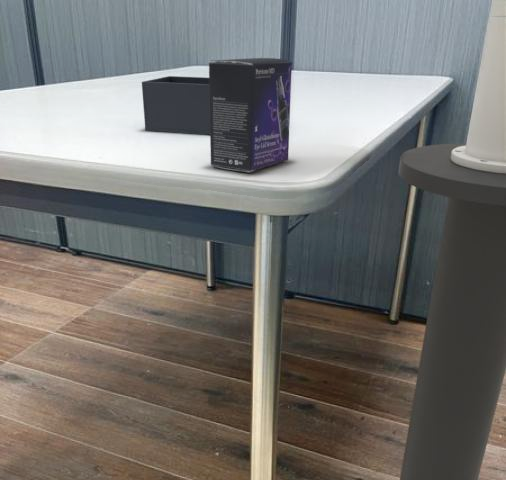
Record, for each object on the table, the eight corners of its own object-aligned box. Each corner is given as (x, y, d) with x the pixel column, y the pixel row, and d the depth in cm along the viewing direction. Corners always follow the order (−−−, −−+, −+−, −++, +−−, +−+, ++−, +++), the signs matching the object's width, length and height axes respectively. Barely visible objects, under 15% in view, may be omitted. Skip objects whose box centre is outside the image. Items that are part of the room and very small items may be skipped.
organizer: (239, 125, 90) (239, 78, 87) (219, 135, 82) (218, 85, 79) (171, 121, 92) (168, 76, 89) (145, 130, 85) (141, 81, 82)
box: (251, 174, 62) (252, 62, 57) (209, 167, 65) (206, 59, 59) (289, 161, 68) (293, 57, 63) (249, 155, 70) (250, 55, 65)
